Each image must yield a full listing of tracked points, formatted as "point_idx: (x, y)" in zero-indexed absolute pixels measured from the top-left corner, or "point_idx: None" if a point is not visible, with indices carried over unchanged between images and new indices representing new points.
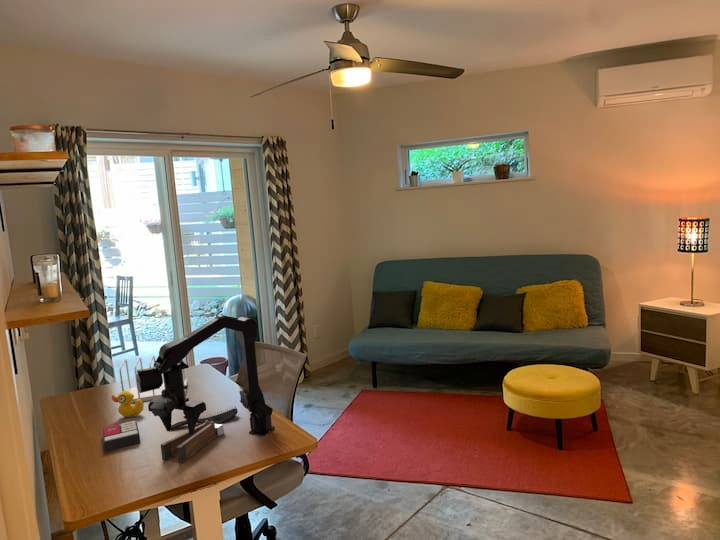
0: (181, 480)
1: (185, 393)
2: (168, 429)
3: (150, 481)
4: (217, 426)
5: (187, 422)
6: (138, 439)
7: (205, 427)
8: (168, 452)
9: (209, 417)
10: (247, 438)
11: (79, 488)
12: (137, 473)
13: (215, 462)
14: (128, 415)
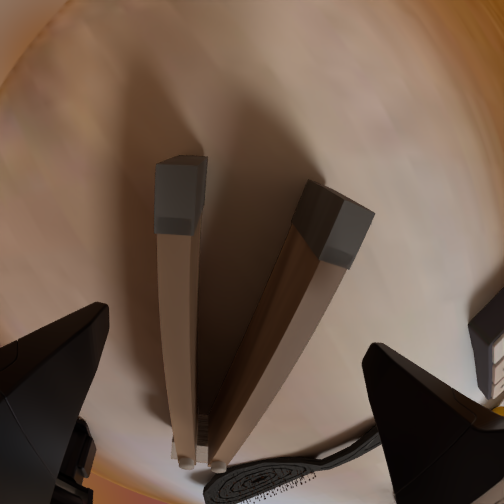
0: (96, 14)
1: (394, 495)
2: (376, 356)
3: None
4: None
5: (16, 377)
6: (480, 330)
7: (185, 435)
8: (307, 215)
9: (293, 478)
10: None
11: (493, 6)
12: (384, 56)
13: (28, 205)
14: (495, 412)
